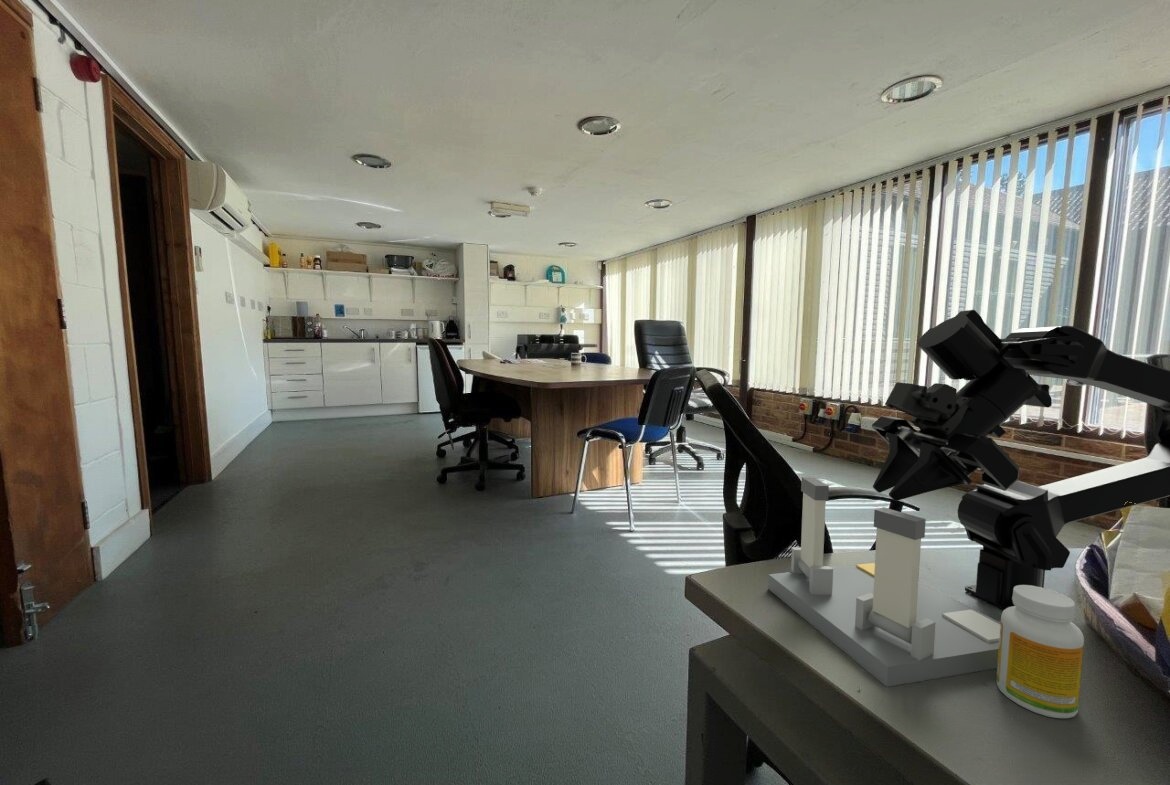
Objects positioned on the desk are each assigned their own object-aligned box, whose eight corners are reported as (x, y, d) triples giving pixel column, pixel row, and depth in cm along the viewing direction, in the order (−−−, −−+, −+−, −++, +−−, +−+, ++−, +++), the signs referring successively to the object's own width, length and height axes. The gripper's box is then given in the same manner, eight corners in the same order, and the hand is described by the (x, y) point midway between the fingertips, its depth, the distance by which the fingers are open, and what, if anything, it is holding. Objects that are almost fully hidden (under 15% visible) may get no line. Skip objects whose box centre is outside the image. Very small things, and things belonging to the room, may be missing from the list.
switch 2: (878, 621, 51) (884, 507, 50) (918, 641, 47) (926, 519, 46) (868, 625, 50) (873, 509, 49) (908, 646, 46) (915, 521, 45)
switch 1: (810, 570, 63) (814, 477, 62) (825, 585, 59) (829, 485, 58) (797, 570, 63) (800, 477, 62) (810, 584, 59) (814, 485, 58)
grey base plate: (881, 574, 67) (882, 538, 67) (1036, 661, 48) (1040, 611, 48) (766, 587, 63) (767, 549, 63) (886, 686, 44) (889, 633, 44)
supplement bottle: (1096, 725, 40) (1106, 614, 39) (1021, 715, 41) (1030, 607, 40) (1047, 682, 45) (1056, 583, 44) (982, 674, 46) (989, 578, 45)
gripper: (889, 359, 67) (807, 435, 69) (998, 361, 49) (883, 466, 50) (942, 414, 68) (860, 489, 69) (1072, 437, 49) (955, 540, 50)
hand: (883, 493), depth 59 cm, fingers open, 3 cm apart
